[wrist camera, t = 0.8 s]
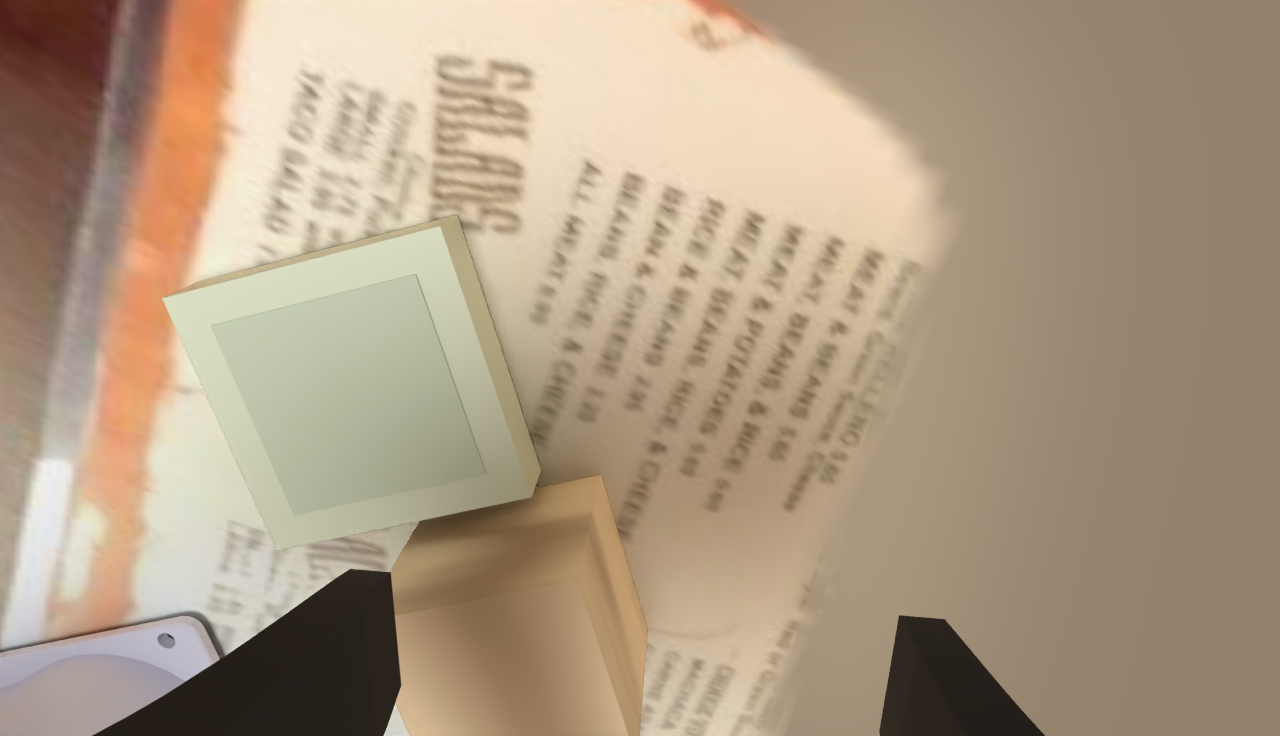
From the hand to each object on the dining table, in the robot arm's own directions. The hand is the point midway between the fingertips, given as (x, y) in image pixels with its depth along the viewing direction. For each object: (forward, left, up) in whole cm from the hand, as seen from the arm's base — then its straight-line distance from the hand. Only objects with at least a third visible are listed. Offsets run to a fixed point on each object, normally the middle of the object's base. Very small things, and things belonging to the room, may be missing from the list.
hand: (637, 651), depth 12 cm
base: (-7, +2, -10) cm, 13 cm away
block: (-5, -5, -11) cm, 12 cm away
